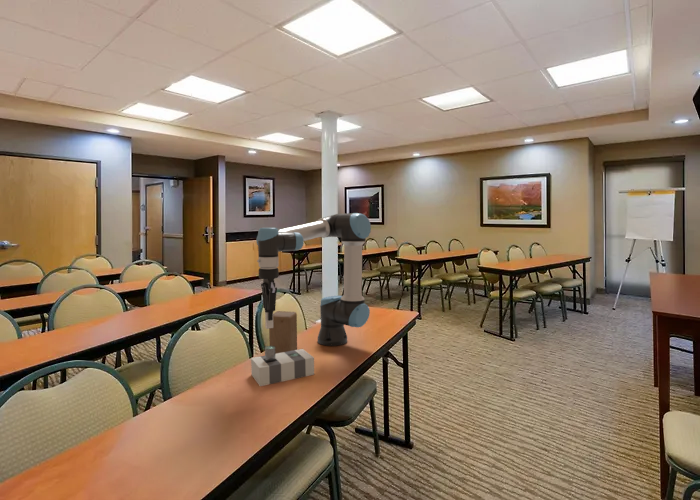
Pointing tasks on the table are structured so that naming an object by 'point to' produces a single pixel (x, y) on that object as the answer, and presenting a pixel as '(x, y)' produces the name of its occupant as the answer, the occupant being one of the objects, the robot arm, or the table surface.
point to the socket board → (282, 367)
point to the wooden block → (283, 331)
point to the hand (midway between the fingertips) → (269, 327)
